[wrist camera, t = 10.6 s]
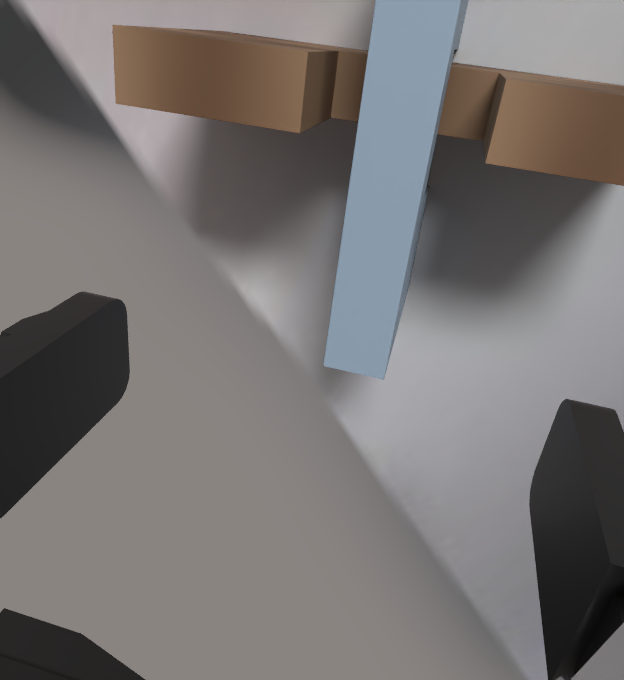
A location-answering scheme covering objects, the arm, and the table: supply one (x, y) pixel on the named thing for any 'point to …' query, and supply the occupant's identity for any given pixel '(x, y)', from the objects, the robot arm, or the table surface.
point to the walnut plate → (346, 94)
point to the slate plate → (390, 176)
